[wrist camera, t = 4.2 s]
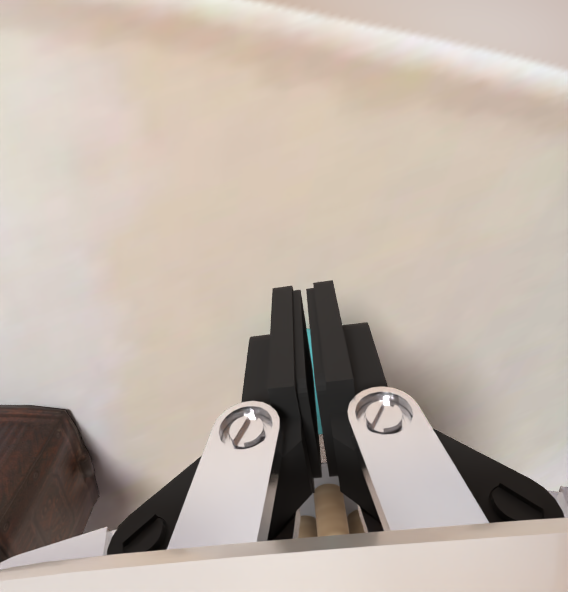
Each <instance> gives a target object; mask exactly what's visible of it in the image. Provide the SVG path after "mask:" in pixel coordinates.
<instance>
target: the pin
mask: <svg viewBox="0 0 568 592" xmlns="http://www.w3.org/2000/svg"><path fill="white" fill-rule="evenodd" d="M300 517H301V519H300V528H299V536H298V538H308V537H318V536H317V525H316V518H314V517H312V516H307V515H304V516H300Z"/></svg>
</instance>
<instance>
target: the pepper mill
mask: <svg viewBox="0 0 568 592" xmlns="http://www.w3.org/2000/svg"><path fill="white" fill-rule="evenodd" d="M99 497H100V496H99V492H98V488H97V484H96V480H95V475H94V467H93V464H92V461H91V458H90V455H89V453H88V450H87V449H86V448H85V446H84V444H83V441H82V439H81V437H80V434H79V432H78V429H77V427H76V426H75V424H74V423H73V421H72V419H71V418H70V416H69V415H68V413H67V412H66V410H62V409H55V408H47V407H39V406H31V405H0V563H1V562H3V561H5V560H7V559H9V558H11V557H13V556H16V555H19V554H22V553H25V552H29V551H32V550H35V549H38V548H41V547H44V546H48V545H51V544H54V543H57V542H60V541H63V540H66V539H70V538H73V537H76V536H79V535H82V533H83V531H84V528H85V526H86V523H87V521H88V518H89V516H90V514H91V511H92V509H93V506H94V504H95V503H96V501H97V500H98V498H99Z"/></svg>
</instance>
